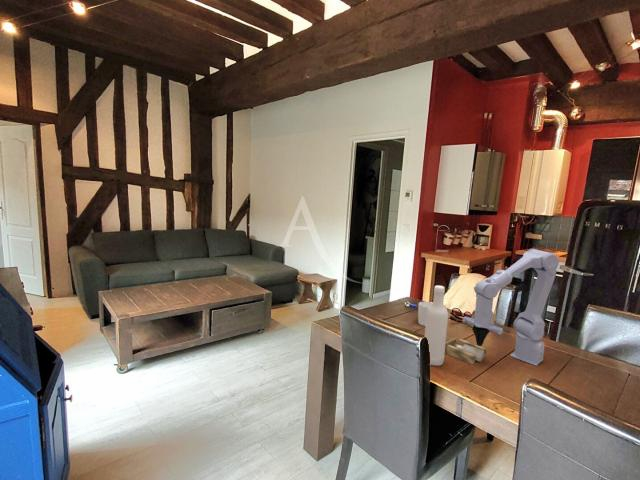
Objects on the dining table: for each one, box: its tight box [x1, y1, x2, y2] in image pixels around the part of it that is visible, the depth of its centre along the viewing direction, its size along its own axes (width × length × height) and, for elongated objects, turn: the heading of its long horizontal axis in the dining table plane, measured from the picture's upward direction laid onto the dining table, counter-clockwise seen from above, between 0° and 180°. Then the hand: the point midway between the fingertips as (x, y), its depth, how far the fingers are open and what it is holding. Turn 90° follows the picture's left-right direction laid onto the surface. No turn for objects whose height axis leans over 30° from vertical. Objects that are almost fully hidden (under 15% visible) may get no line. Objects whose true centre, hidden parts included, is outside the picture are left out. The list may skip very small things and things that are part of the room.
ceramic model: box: [466, 309, 498, 328], centre depth 163 cm, size 14×11×10 cm
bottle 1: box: [424, 284, 449, 367], centre depth 127 cm, size 8×8×30 cm
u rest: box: [445, 337, 487, 366], centre depth 135 cm, size 14×11×4 cm
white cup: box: [417, 301, 433, 327], centre depth 165 cm, size 8×8×10 cm
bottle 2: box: [454, 343, 485, 363], centre depth 133 cm, size 5×5×10 cm
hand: (479, 345), depth 129 cm, fingers closed
